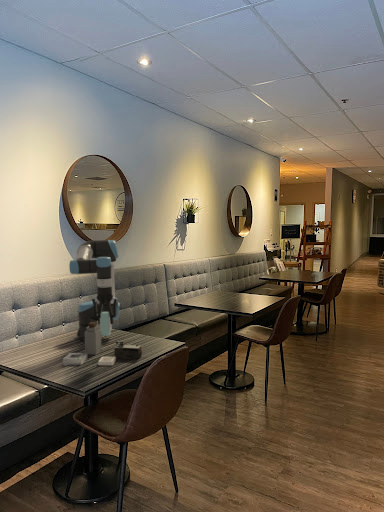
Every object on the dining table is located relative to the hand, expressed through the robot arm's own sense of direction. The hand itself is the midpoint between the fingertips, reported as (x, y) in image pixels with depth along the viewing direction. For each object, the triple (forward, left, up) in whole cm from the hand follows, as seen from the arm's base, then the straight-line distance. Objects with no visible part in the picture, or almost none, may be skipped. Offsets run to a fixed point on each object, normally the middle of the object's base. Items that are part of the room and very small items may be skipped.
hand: (105, 329), depth 212 cm
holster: (0, 0, -19) cm, 19 cm away
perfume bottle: (-17, -12, -19) cm, 28 cm away
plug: (0, 0, -3) cm, 3 cm away
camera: (-10, +9, -19) cm, 23 cm away
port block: (-2, -18, -19) cm, 26 cm away
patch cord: (-13, -20, -19) cm, 30 cm away
